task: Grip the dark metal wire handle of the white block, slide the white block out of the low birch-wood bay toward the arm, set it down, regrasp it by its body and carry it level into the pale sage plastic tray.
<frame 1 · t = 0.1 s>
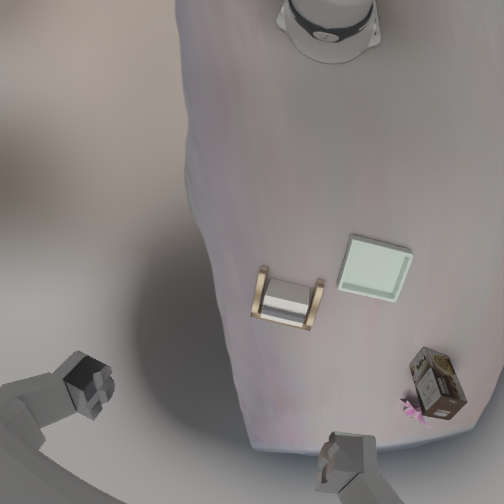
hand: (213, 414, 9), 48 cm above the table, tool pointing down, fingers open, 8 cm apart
white block: (288, 293, 61), on the table
lily: (413, 399, 65), on the table
tray: (373, 266, 55), on the table
coffee box: (428, 360, 60), on the table
bay: (287, 293, 61), on the table
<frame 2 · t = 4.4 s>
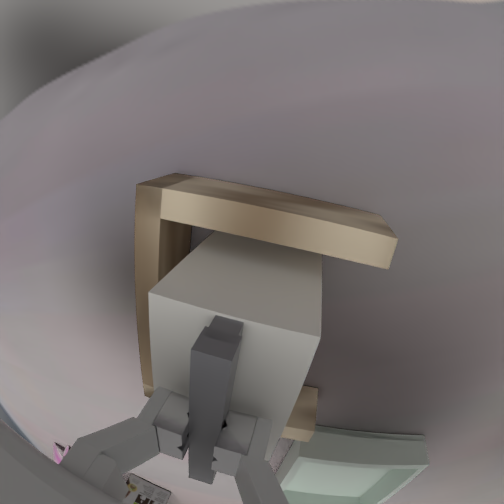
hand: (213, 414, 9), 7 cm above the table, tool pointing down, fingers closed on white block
white block: (256, 306, 16), on the table, touching gripper
lily: (77, 456, 35), on the table
tray: (339, 467, 20), on the table
coffee box: (149, 489, 32), on the table
bay: (256, 306, 16), on the table
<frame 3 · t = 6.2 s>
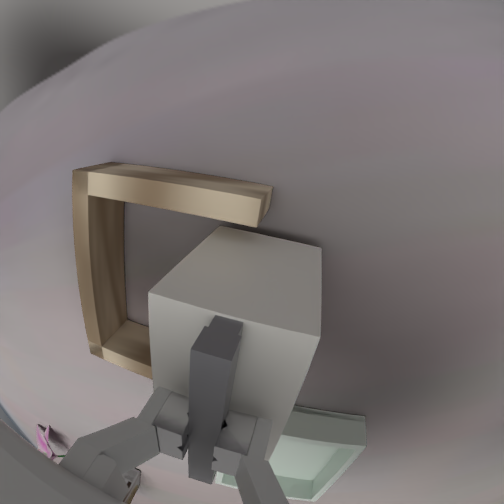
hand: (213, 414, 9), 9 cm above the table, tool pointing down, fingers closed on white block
white block: (256, 306, 16), point 2 cm above the table, touching gripper
lily: (58, 437, 37), on the table
tray: (284, 445, 23), on the table
coffee box: (123, 469, 34), on the table
bay: (177, 273, 18), on the table
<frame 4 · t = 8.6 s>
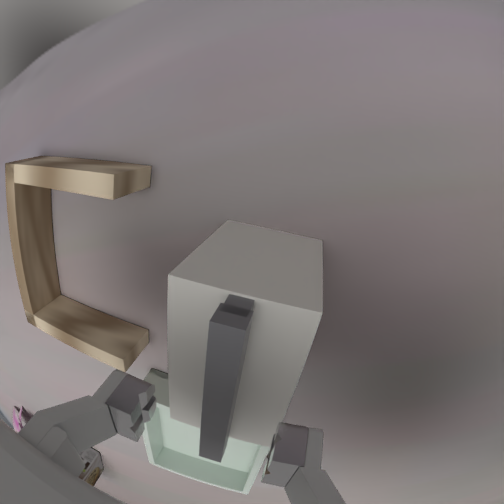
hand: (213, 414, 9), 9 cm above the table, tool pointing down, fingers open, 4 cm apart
white block: (261, 295, 17), on the table
lily: (31, 418, 38), on the table
tray: (208, 430, 23), on the table
coffee box: (87, 451, 35), on the table
bay: (89, 249, 19), on the table
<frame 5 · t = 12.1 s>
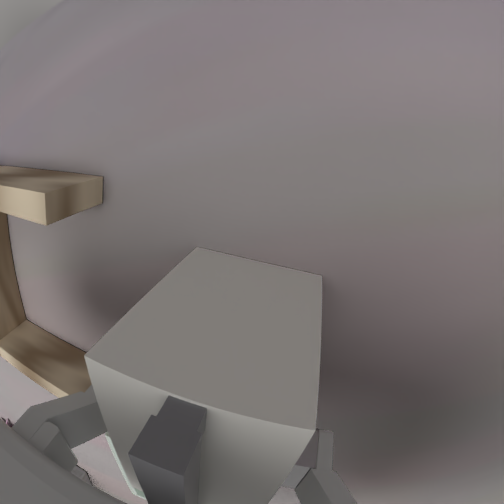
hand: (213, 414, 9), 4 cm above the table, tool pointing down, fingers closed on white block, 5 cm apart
white block: (243, 341, 13), on the table, touching gripper
tray: (193, 467, 19), on the table
bay: (47, 274, 15), on the table
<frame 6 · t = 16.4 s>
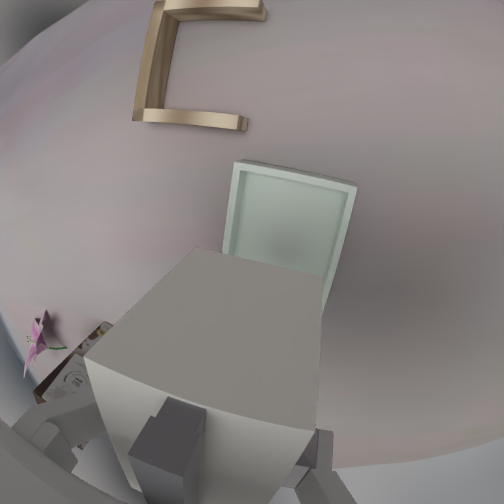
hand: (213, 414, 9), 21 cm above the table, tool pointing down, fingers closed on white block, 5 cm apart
white block: (242, 342, 13), point 17 cm above the table, touching gripper
lily: (52, 328, 44), on the table
tray: (285, 233, 29), on the table
coffee box: (120, 350, 40), on the table
bay: (207, 64, 24), on the table
when the fingers open (6 cm above the table, at t = 20.4 s): white block drops 1 cm, resting on tray.
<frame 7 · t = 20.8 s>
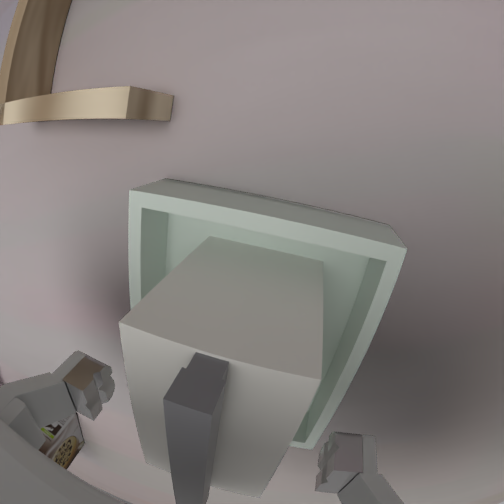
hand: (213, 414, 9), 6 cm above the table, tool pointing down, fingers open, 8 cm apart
white block: (251, 323, 14), point 1 cm above the table, touching tray
tray: (251, 317, 15), on the table
coffee box: (62, 415, 27), on the table
bay: (112, 13, 11), on the table
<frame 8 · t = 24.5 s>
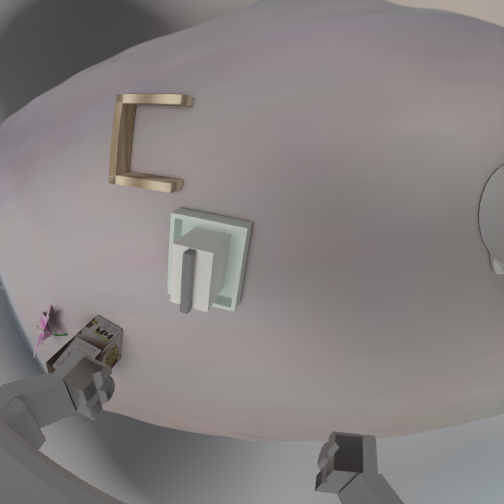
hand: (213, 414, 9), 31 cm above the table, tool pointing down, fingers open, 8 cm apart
white block: (209, 257, 42), point 1 cm above the table, touching tray
lily: (56, 320, 58), on the table
tray: (210, 255, 42), on the table
coffee box: (109, 336, 54), on the table
bay: (155, 140, 38), on the table
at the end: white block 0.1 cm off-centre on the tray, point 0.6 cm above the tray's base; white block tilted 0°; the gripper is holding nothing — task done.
